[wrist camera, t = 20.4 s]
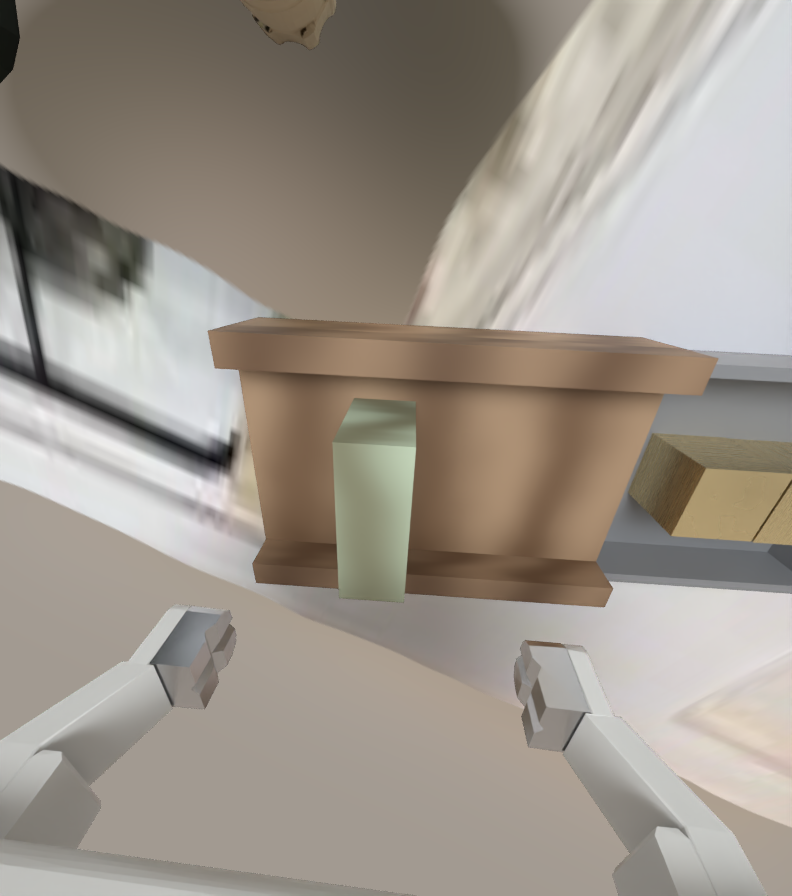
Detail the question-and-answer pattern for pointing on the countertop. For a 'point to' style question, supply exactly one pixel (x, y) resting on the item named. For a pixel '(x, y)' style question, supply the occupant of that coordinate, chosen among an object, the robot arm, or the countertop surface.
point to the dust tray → (715, 415)
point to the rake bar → (374, 497)
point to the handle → (292, 19)
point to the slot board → (456, 446)
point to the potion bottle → (8, 37)
